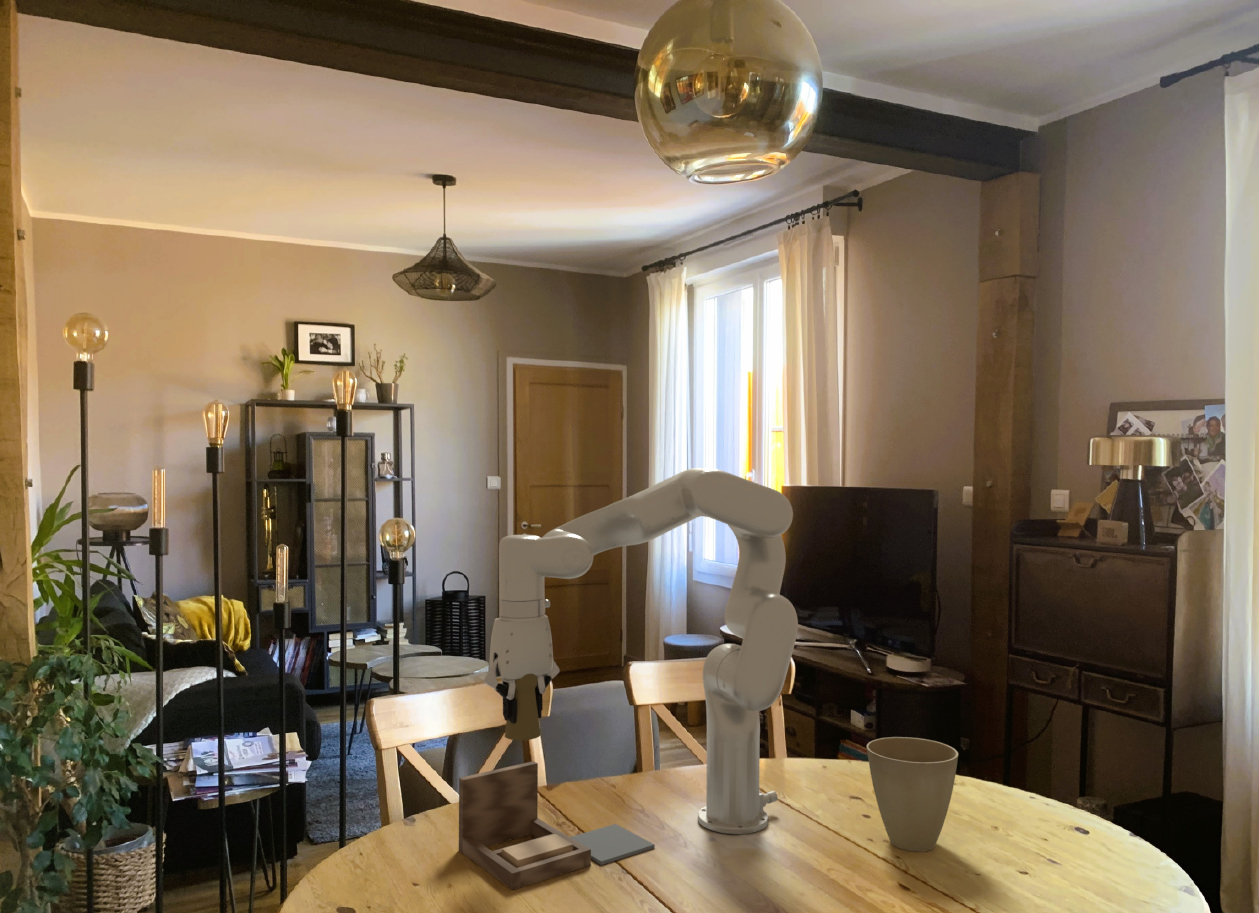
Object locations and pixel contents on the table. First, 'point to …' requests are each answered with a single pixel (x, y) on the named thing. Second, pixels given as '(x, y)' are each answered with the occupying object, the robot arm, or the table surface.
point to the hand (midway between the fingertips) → (522, 718)
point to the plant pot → (912, 788)
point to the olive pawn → (525, 710)
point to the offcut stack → (536, 850)
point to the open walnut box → (509, 825)
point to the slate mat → (612, 843)
